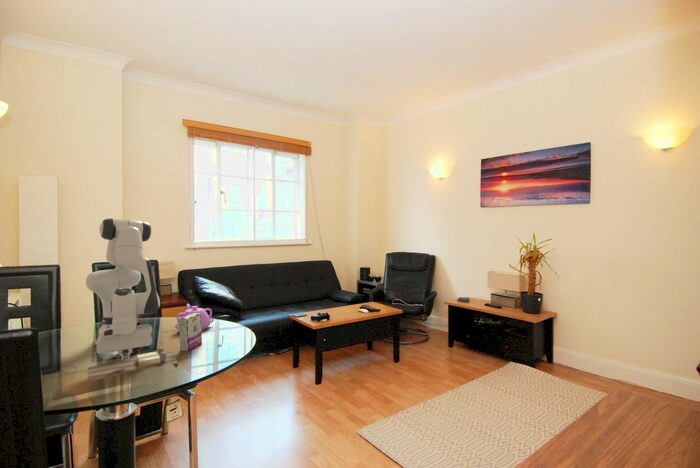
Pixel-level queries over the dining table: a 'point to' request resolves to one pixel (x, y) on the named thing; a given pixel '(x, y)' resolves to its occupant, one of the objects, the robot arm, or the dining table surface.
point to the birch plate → (148, 359)
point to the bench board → (127, 366)
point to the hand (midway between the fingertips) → (125, 359)
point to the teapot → (204, 316)
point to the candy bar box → (190, 331)
